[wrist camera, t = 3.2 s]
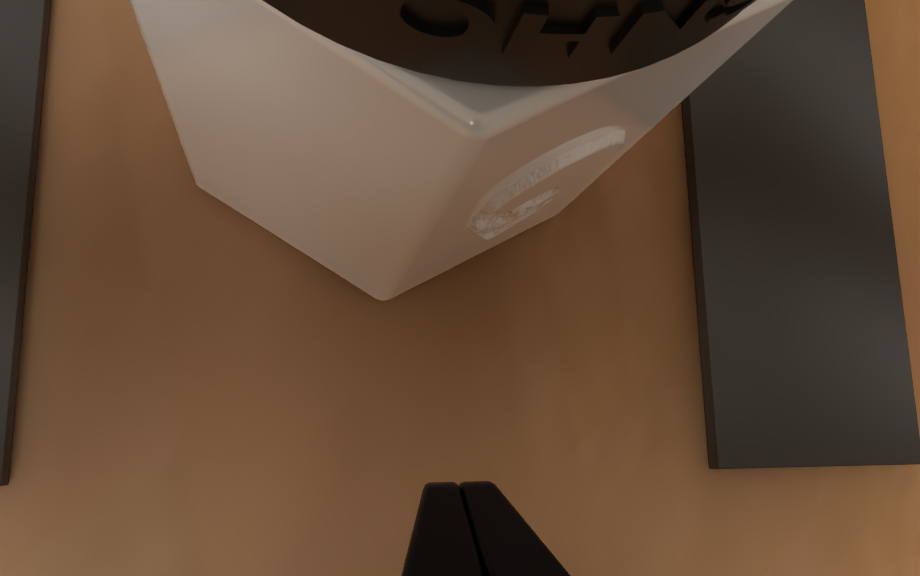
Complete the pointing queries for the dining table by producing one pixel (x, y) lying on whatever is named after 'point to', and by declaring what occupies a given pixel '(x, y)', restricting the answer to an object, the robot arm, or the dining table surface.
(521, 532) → the robot arm
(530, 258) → the dining table surface
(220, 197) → the jar
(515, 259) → the dining table surface
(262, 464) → the dining table surface
